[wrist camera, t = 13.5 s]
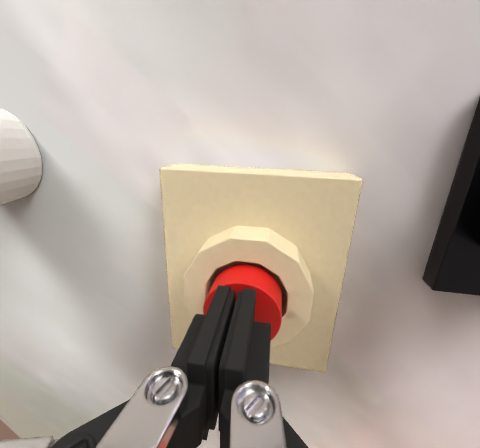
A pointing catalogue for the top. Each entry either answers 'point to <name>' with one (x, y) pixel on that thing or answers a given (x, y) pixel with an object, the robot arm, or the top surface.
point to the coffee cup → (17, 159)
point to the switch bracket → (460, 226)
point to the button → (265, 288)
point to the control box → (261, 245)
